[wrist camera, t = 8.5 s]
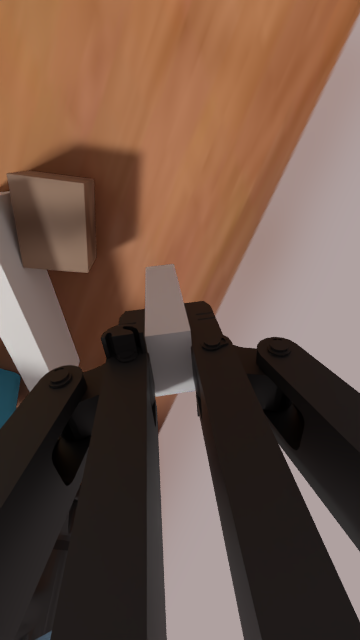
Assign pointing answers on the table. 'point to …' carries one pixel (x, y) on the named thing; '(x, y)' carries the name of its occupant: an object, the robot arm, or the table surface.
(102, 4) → the table surface
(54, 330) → the grey board
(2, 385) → the block
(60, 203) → the walnut block
